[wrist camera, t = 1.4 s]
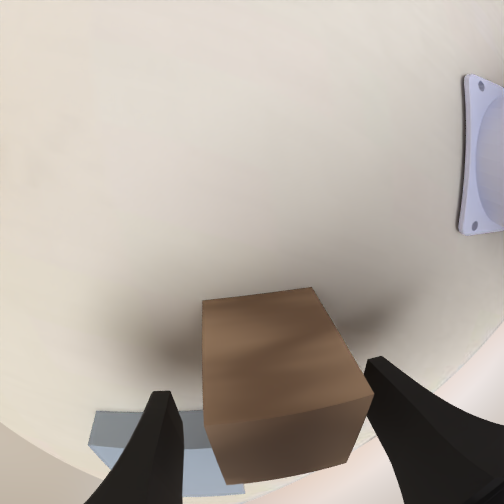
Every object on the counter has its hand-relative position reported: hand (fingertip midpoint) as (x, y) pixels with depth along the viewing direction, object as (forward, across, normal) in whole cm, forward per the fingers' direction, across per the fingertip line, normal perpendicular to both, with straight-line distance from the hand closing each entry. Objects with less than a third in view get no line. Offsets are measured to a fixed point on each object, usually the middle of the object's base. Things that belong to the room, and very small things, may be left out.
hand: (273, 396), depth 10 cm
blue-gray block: (+4, +6, +9) cm, 11 cm away
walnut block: (+3, 0, 0) cm, 4 cm away
